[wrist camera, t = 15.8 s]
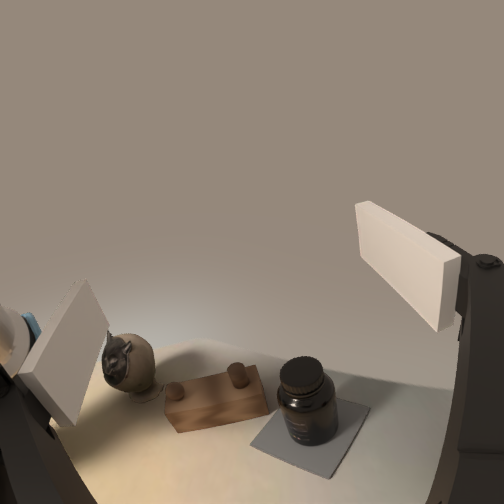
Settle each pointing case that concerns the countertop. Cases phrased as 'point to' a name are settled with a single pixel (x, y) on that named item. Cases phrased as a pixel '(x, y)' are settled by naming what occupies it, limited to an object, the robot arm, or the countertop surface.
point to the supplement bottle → (307, 401)
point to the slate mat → (317, 457)
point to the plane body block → (216, 399)
